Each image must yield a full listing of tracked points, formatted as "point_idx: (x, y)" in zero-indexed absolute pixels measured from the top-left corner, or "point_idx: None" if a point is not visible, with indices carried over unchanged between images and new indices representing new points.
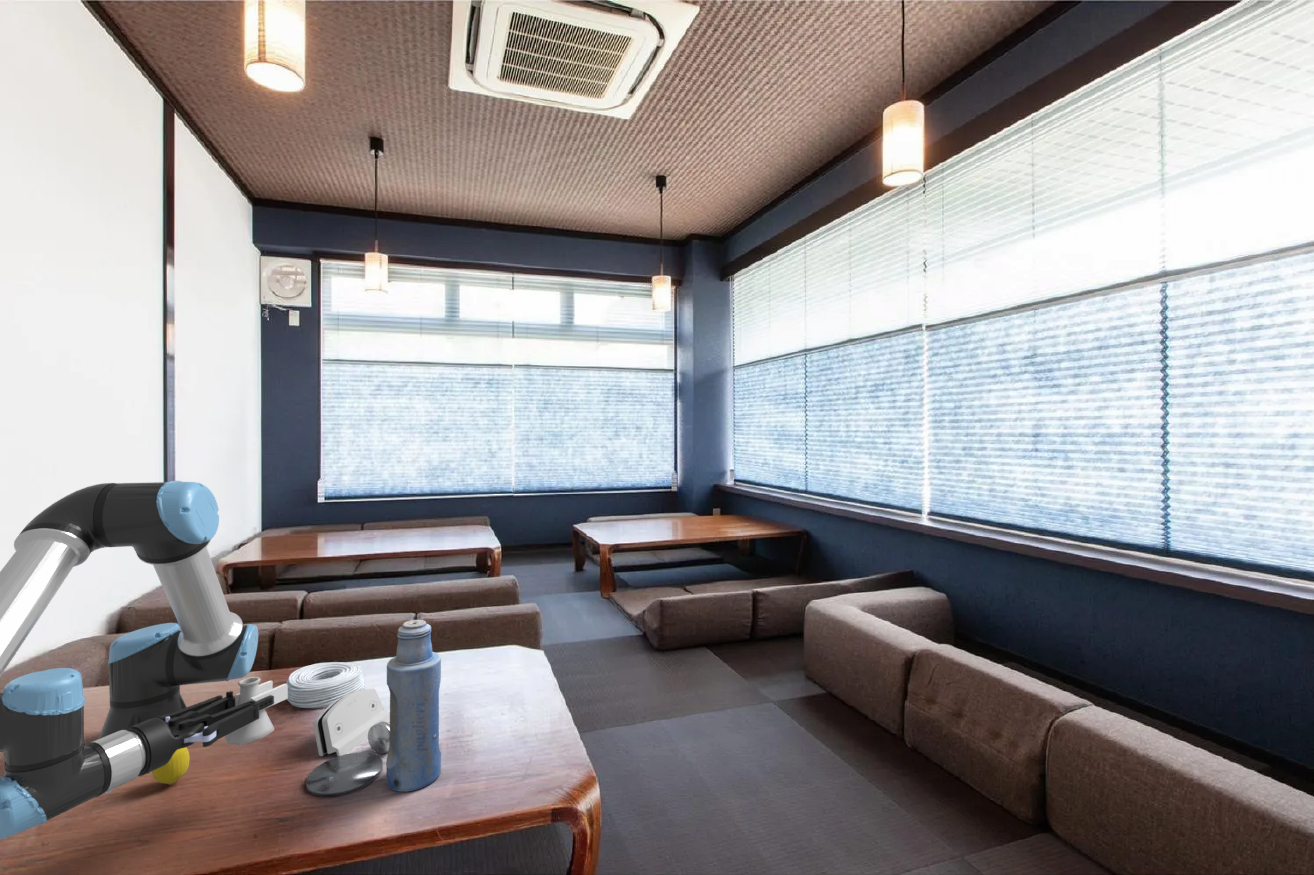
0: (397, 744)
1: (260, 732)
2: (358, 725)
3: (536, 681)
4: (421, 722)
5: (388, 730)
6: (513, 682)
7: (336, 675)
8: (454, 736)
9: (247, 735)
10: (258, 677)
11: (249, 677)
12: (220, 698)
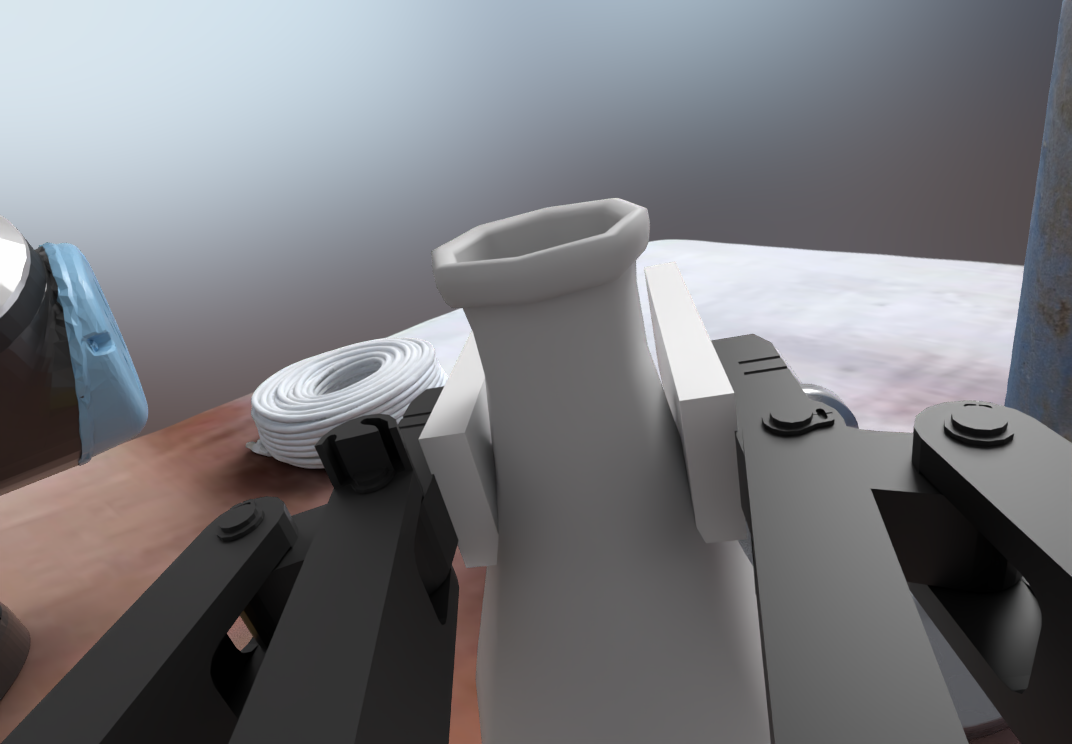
0: None
1: None
2: None
3: (793, 254)
4: None
5: (841, 402)
6: (751, 270)
7: (362, 373)
8: (899, 373)
9: None
10: (559, 207)
11: (463, 234)
12: (282, 530)
